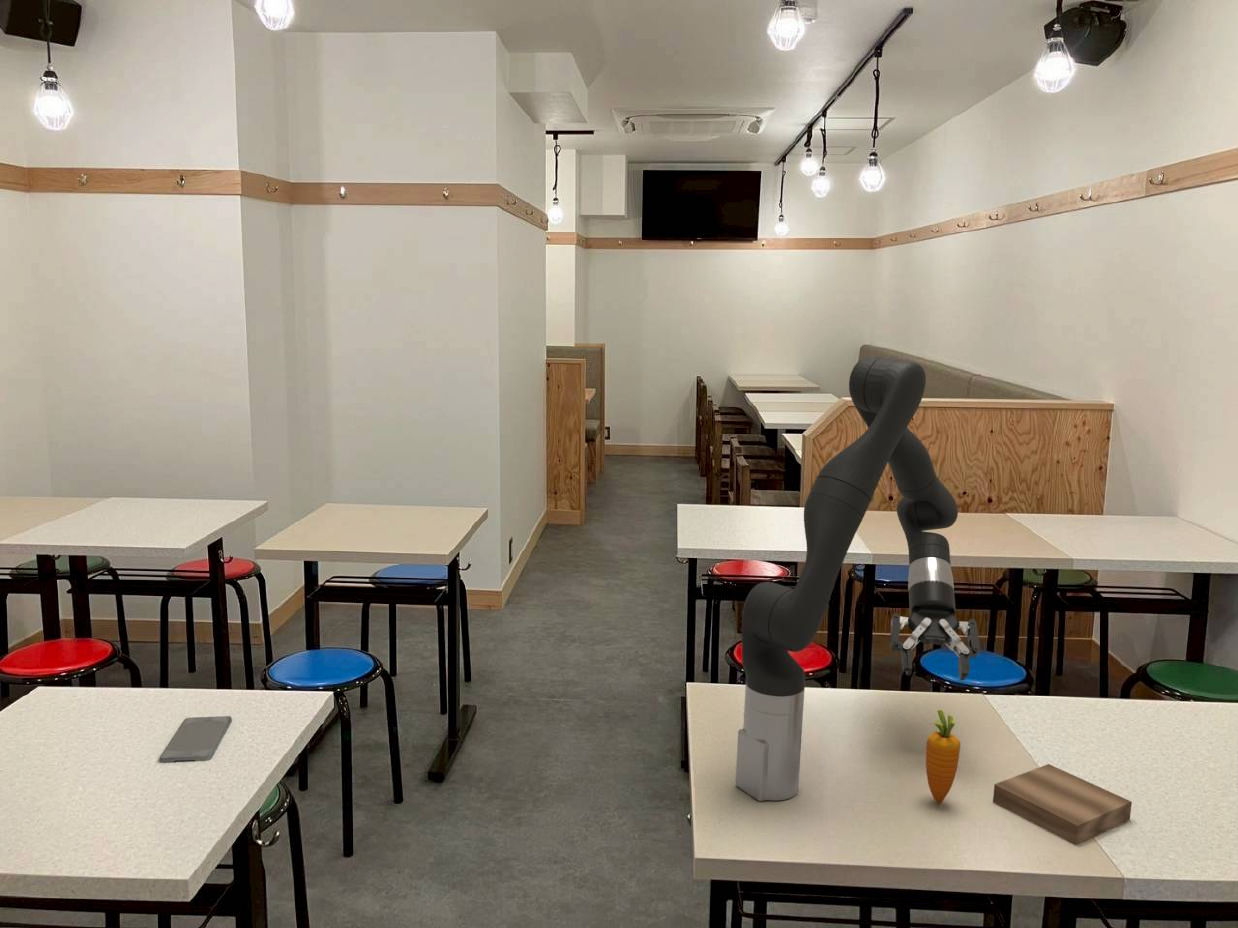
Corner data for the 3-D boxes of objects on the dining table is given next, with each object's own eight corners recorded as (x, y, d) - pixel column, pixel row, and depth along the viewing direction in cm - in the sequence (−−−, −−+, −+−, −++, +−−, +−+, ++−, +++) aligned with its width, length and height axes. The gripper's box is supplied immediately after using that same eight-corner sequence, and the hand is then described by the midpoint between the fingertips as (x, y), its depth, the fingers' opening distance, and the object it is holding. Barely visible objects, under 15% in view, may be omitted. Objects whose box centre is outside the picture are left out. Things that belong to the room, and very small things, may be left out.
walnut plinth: (1075, 844, 137) (1077, 825, 137) (992, 801, 149) (994, 784, 149) (1129, 819, 145) (1131, 801, 144) (1046, 780, 157) (1048, 763, 156)
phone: (157, 766, 154) (157, 758, 154) (185, 724, 170) (184, 717, 170) (210, 763, 156) (210, 756, 156) (233, 722, 171) (232, 715, 171)
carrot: (957, 813, 145) (965, 721, 143) (923, 809, 146) (931, 717, 144) (952, 797, 150) (960, 708, 148) (920, 793, 151) (927, 704, 149)
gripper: (891, 575, 164) (894, 662, 154) (978, 581, 161) (986, 670, 152) (886, 596, 170) (888, 681, 160) (969, 602, 167) (976, 689, 158)
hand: (936, 675), depth 156 cm, fingers open, 8 cm apart
